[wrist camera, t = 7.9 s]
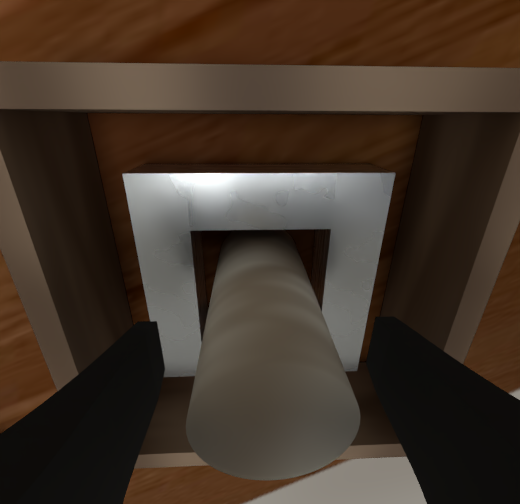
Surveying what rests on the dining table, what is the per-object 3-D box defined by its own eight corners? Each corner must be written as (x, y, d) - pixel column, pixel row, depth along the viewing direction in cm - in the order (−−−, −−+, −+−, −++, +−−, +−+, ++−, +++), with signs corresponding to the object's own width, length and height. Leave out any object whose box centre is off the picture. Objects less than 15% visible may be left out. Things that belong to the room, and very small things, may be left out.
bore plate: (369, 163, 13) (395, 172, 11) (342, 337, 17) (356, 371, 15) (144, 163, 13) (122, 173, 10) (172, 342, 17) (160, 377, 15)
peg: (303, 225, 14) (380, 368, 6) (291, 294, 16) (340, 481, 8) (220, 218, 14) (185, 360, 6) (218, 289, 16) (186, 479, 7)
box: (452, 88, 12) (579, 68, 7) (382, 373, 19) (426, 455, 14) (54, 84, 11) (-76, 60, 7) (129, 381, 18) (89, 470, 13)
